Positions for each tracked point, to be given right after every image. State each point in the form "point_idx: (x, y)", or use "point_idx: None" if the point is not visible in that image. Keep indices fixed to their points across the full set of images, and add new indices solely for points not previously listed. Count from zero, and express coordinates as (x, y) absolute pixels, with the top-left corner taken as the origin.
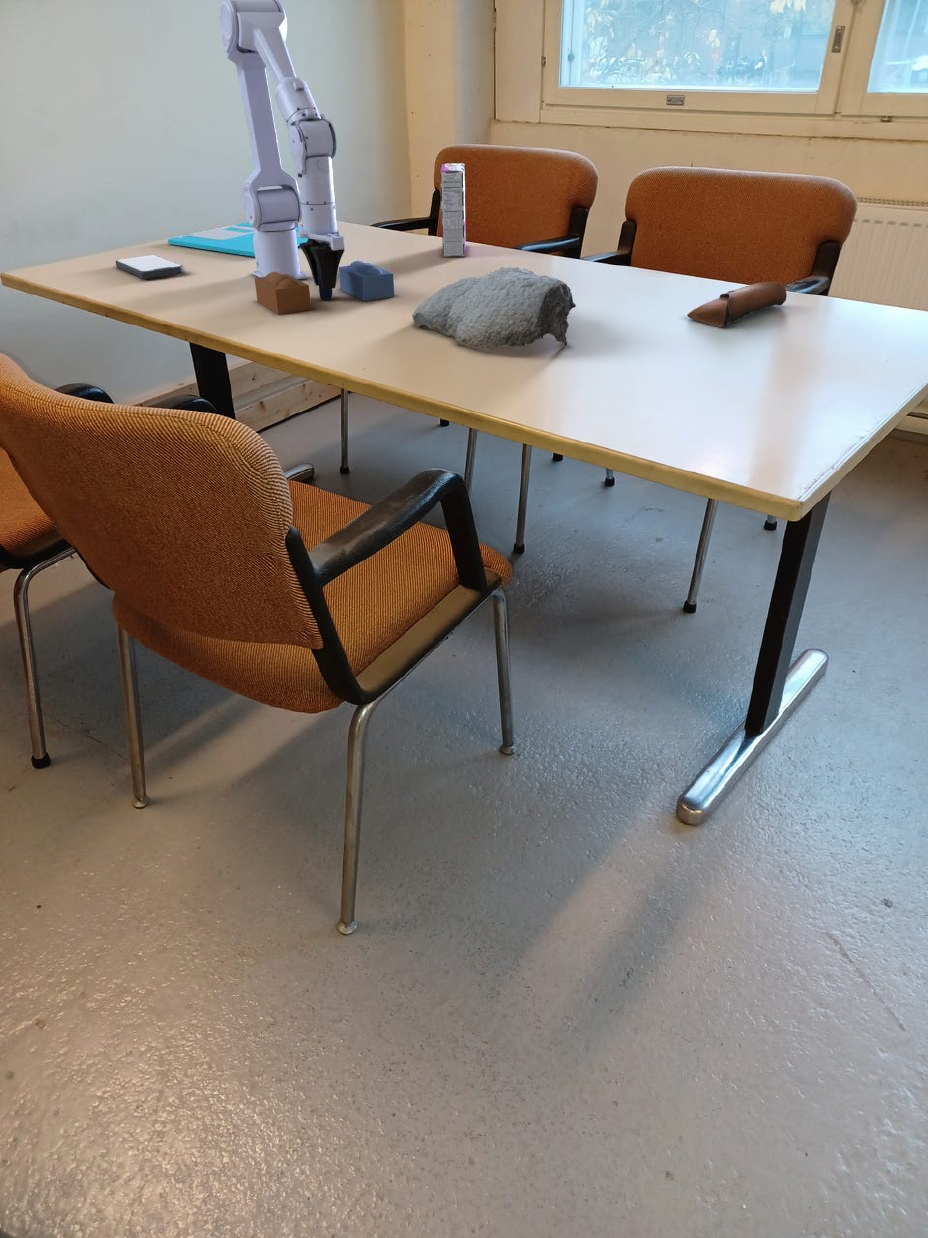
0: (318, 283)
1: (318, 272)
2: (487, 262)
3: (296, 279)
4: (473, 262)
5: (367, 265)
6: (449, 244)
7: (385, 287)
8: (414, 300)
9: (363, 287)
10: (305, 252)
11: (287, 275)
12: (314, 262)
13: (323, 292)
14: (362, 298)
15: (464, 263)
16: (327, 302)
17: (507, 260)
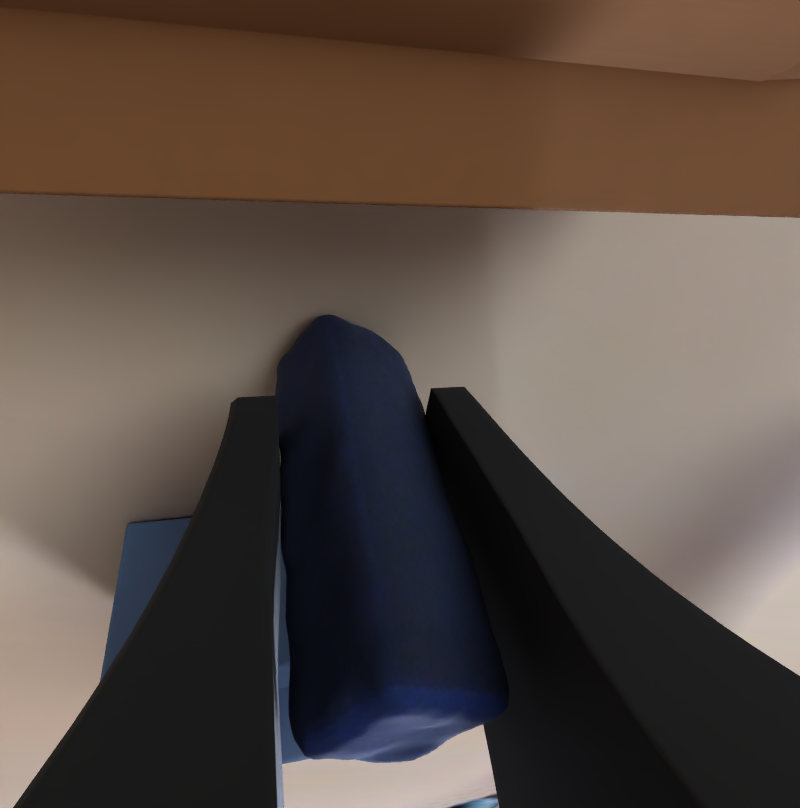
0: (355, 408)
1: (354, 515)
2: (441, 775)
3: (418, 182)
4: (468, 762)
5: (296, 754)
6: None
7: None
8: (36, 671)
9: (112, 612)
10: (691, 699)
11: (768, 181)
12: (520, 598)
13: (305, 373)
14: (151, 530)
15: (477, 753)
16: (228, 327)
17: (423, 792)
